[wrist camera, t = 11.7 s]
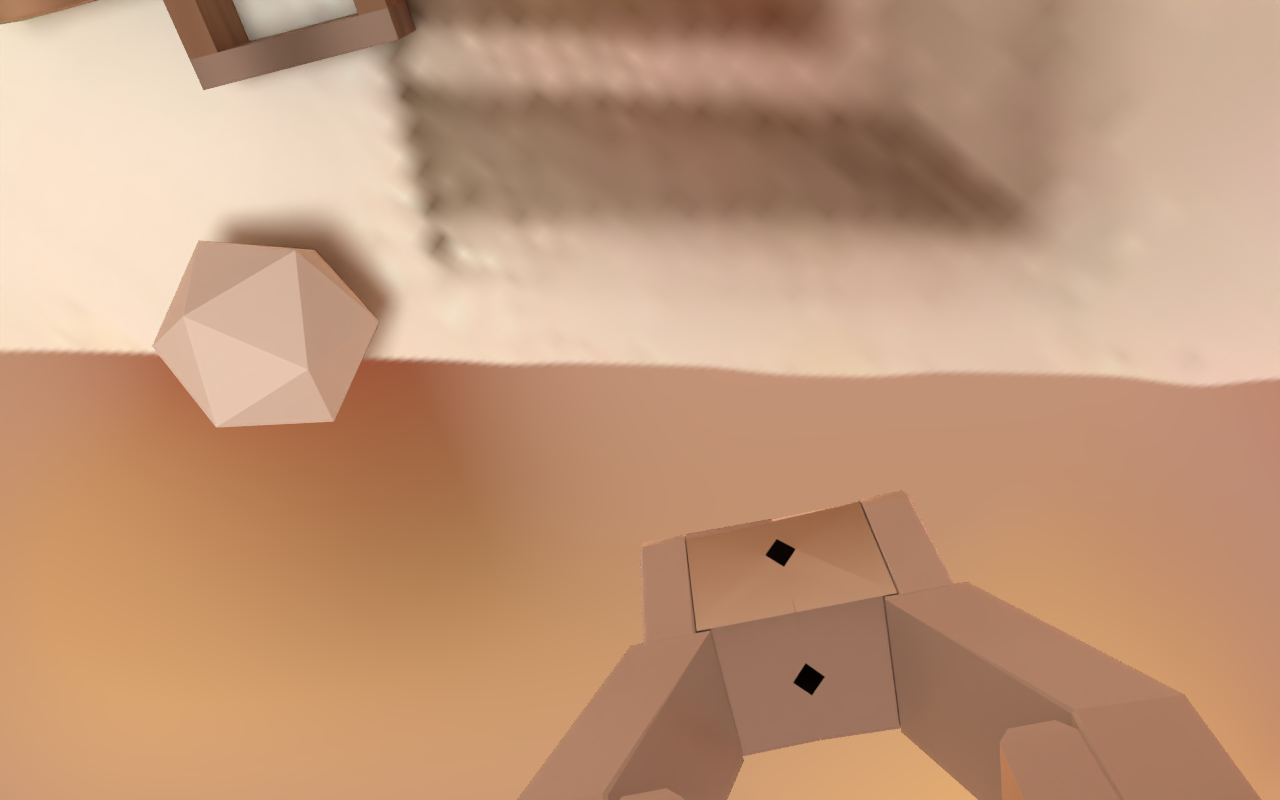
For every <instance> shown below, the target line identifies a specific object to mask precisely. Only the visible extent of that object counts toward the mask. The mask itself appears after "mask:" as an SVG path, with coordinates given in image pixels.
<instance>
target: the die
mask: <svg viewBox="0 0 1280 800" xmlns="http://www.w3.org/2000/svg"><path fill="white" fill-rule="evenodd" d="M378 323H379V321H378V320H377V318H376V317H375V316H374V315H373V314H372V313H371V312H370V311H369V310H368V308H367V307H366V306H365V305H364V304H363V303H362V302H361V301H360V300H359V298H358V297H357V296H356V295H355V294H354V293H353V292H352V291H351V290H350V288H349V287H348V286H347V285H346V284H345V283H344V282H343V281H342V279H341V278H340V277H339V276H338V275H337V274H336V273H335V272H334V271H333V269H332V268H331V267H330V266H329V265H328V264H327V263H326V262H325V261H324V259H323V258H322V257H321V256H320V255H319V254H318V253H317V252H316V251H315V250H311V249H299V248H286V247H273V246H261V245H248V244H235V243H223V242H210V241H198V243H197V246H196V248H195V250H194V252H193V255H192V257H191V259H190V262H189V264H188V266H187V268H186V271H185V273H184V275H183V278H182V280H181V282H180V284H179V287H178V289H177V291H176V294H175V296H174V298H173V300H172V303H171V305H170V307H169V310H168V312H167V314H166V316H165V319H164V321H163V323H162V326H161V328H160V330H159V332H158V335H157V337H156V339H155V341H154V344H153V346H152V347H153V348H154V349H155V350H156V352H157V353H158V354H159V355H160V357H161V358H162V359H163V360H164V362H165V363H166V364H167V366H168V367H169V368H170V369H171V371H172V372H173V373H174V374H175V375H176V377H177V378H178V380H179V381H180V382H181V383H182V384H183V386H184V387H185V388H186V390H187V391H188V392H189V393H190V395H191V396H192V397H193V399H194V400H195V401H196V402H197V404H198V405H199V406H200V407H201V409H202V410H203V411H204V413H205V414H206V415H207V416H208V418H209V419H210V420H211V421H212V423H213V424H214V425H215V426H216V427H233V426H252V425H272V424H292V423H311V422H331V421H334V420H335V417H336V415H337V413H338V411H339V409H340V406H341V404H342V402H343V400H344V398H345V396H346V393H347V391H348V389H349V387H350V384H351V382H352V380H353V378H354V376H355V373H356V371H357V369H358V367H359V365H360V363H361V361H362V358H363V356H364V354H365V352H366V350H367V347H368V345H369V343H370V341H371V339H372V336H373V334H374V332H375V330H376V328H377V325H378Z"/></svg>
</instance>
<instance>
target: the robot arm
mask: <svg viewBox="0 0 1280 800" xmlns="http://www.w3.org/2000/svg"><path fill="white" fill-rule="evenodd" d="M640 566H641V590H642V615H643V616H642V617H643V642H644V643H642V644H637V645H633V646H630V647H629V649H628V650H627V652H626V653H625V654H624V656H623V657H622V659H621V660H620V661H619V663H618V664H617V665H616V666H615V668H614V669H613V671H612V672H611V673H610V675H609V676H608V677H607V679H606V680H605V681H604V683H603V684H602V685H601V687H600V688H599V690H598V691H597V692H596V694H595V695H594V696H593V698H592V699H591V700H590V702H589V703H588V704H587V706H586V707H585V708H584V710H583V711H582V712H581V714H580V715H579V717H578V718H577V719H576V721H575V722H574V723H573V725H572V726H571V728H570V729H569V730H568V732H567V733H566V734H565V736H564V737H563V738H562V740H561V741H560V742H559V744H558V745H557V746H556V748H555V749H554V750H553V752H552V753H551V754H550V756H549V757H548V759H547V760H546V761H545V763H544V764H543V765H542V767H541V768H540V770H539V771H538V772H537V773H536V775H535V776H534V778H533V779H532V780H531V781H530V783H529V784H528V786H527V787H526V788H525V790H524V791H523V792H522V794H521V795H520V797H519V798H518V799H517V800H727V799H728V796H729V794H730V792H731V789H732V787H733V785H734V782H735V780H736V778H737V775H738V773H739V771H740V768H741V766H742V764H743V761H744V760H743V756H745V755H750V754H755V753H760V752H765V751H770V750H775V749H780V748H784V747H789V746H794V745H799V744H804V743H808V742H814V741H818V740H820V739H821V740H825V739H831V738H838V737H845V736H852V735H858V734H865V733H872V732H878V731H884V730H891V729H898V728H901V732H902V733H903V734H904V735H906V736H907V737H908V738H909V739H910V740H911V741H912V742H913V743H915V744H916V745H917V746H918V747H919V748H920V749H921V750H923V751H924V752H925V753H926V754H927V755H928V756H929V757H930V758H932V759H933V760H934V761H935V762H936V763H937V764H938V765H940V766H941V767H942V768H943V769H944V770H945V771H946V772H948V773H949V774H950V775H951V776H952V777H953V778H954V779H956V780H957V781H958V782H959V783H960V784H961V785H963V786H964V787H965V788H966V789H967V790H968V791H969V792H970V793H971V794H972V795H974V796H975V797H976V798H977V799H978V800H1261V799H1260V797H1259V796H1258V795H1257V793H1256V792H1255V790H1254V789H1253V788H1252V787H1251V785H1250V784H1249V782H1248V781H1247V780H1246V778H1245V777H1244V776H1243V774H1242V773H1241V771H1240V770H1239V769H1238V767H1237V766H1236V765H1235V763H1234V762H1233V760H1232V759H1231V758H1230V756H1229V755H1228V754H1227V752H1226V751H1225V749H1224V748H1223V747H1222V745H1221V744H1220V743H1219V741H1218V740H1217V738H1216V737H1215V736H1214V734H1213V733H1212V732H1211V730H1210V729H1209V728H1208V726H1207V725H1206V724H1205V722H1204V721H1203V719H1202V718H1201V717H1200V715H1199V714H1198V712H1197V711H1196V710H1195V708H1194V707H1193V706H1192V704H1191V703H1190V702H1189V700H1188V699H1187V697H1186V696H1185V695H1184V694H1182V693H1180V692H1178V691H1176V690H1174V689H1173V688H1171V687H1169V686H1167V685H1165V684H1163V683H1161V682H1159V681H1157V680H1155V679H1153V678H1152V677H1150V676H1148V675H1146V674H1144V673H1142V672H1140V671H1138V670H1136V669H1134V668H1132V667H1130V666H1128V665H1126V664H1125V663H1123V662H1121V661H1119V660H1117V659H1115V658H1113V657H1111V656H1109V655H1108V654H1106V653H1103V652H1102V651H1100V650H1098V649H1096V648H1094V647H1092V646H1090V645H1088V644H1086V643H1085V642H1083V641H1081V640H1079V639H1077V638H1075V637H1073V636H1071V635H1069V634H1067V633H1065V632H1063V631H1062V630H1060V629H1058V628H1056V627H1054V626H1052V625H1050V624H1048V623H1046V622H1044V621H1042V620H1040V619H1039V618H1037V617H1035V616H1033V615H1031V614H1029V613H1027V612H1025V611H1023V610H1021V609H1019V608H1017V607H1016V606H1014V605H1012V604H1010V603H1008V602H1006V601H1004V600H1002V599H1000V598H998V597H996V596H995V595H993V594H991V593H989V592H987V591H985V590H983V589H981V588H979V587H977V586H975V585H973V584H972V583H970V582H963V583H957V584H954V583H953V581H952V579H951V577H950V575H949V573H948V571H947V570H946V568H945V566H944V564H943V562H942V560H941V558H940V556H939V554H938V552H937V550H936V548H935V546H934V544H933V542H932V541H931V538H930V537H929V534H928V533H927V531H926V529H925V527H924V525H923V523H922V521H921V519H920V517H919V515H918V513H917V511H916V509H915V507H914V505H913V503H912V502H911V500H910V498H909V496H908V494H907V493H905V492H904V491H902V490H900V491H896V492H892V493H887V494H883V495H879V496H874V497H870V498H866V499H861V500H859V501H858V502H855V503H850V504H845V505H840V506H835V507H830V508H825V509H820V510H816V511H811V512H806V513H801V514H796V515H791V516H786V517H781V518H777V519H768V520H762V521H756V522H751V523H745V524H740V525H734V526H728V527H723V528H717V529H712V530H706V531H701V532H695V533H689V534H686V536H684V535H680V536H674V537H669V538H664V539H659V540H654V541H649V542H643V544H642V546H641V549H640ZM819 735H820V736H819Z"/></svg>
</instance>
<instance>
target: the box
mask: <svg viewBox="0 0 1280 800" xmlns="http://www.w3.org/2000/svg"><path fill="white" fill-rule="evenodd" d="M93 1H97V0H0V24H6V23H11V22H17V21H23V20H26V19H30V18H34V17H38V16H41V15H45V14H49V13H52V12H56V11H60V10H63V9H67V8H71V7H74V6H78V5H82V4H86V3H89V2H93ZM163 1H164V3H165V5H166V8H167V10H168V12H169V14H170V17H171V19H172V21H173V23H174V25H175V28H176V30H177V32H178V34H179V37H180V39H181V41H182V43H183V45H184V48H185V50H186V52H187V54H188V57H189V59H190V61H191V63H192V65H193V68H194V70H195V72H196V74H197V77H198V79H199V81H200V83H201V85H202V88H203V90H206V89H210V88H214V87H217V86H221V85H225V84H229V83H233V82H237V81H241V80H244V79H248V78H252V77H256V76H260V75H264V74H268V73H271V72H275V71H279V70H283V69H287V68H291V67H295V66H299V65H302V64H306V63H310V62H314V61H318V60H322V59H326V58H329V57H333V56H337V55H341V54H345V53H349V52H353V51H356V50H360V49H364V48H368V47H372V46H376V45H380V44H384V43H387V42H391V41H395V40H399V39H400V38H402V37H404V36H406V35H407V34H409V33H411V32H413V31H414V30H415V27H414V24H413V21H412V18H411V15H410V12H409V9H408V6H407V3H406V0H354V3H355V6H356V9H357V12H358V13H357V14H353V15H349V16H346V17H342V18H338V19H334V20H330V21H327V22H323V23H319V24H315V25H311V26H307V27H304V28H300V29H296V30H292V31H288V32H285V33H281V34H277V35H273V36H269V37H266V38H262V39H258V40H254V41H250V42H249V40H248V38H247V36H246V33H245V31H244V28H243V26H242V24H241V21H240V19H239V16H238V14H237V12H236V9H235V7H234V4H233V2H232V0H163Z"/></svg>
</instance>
